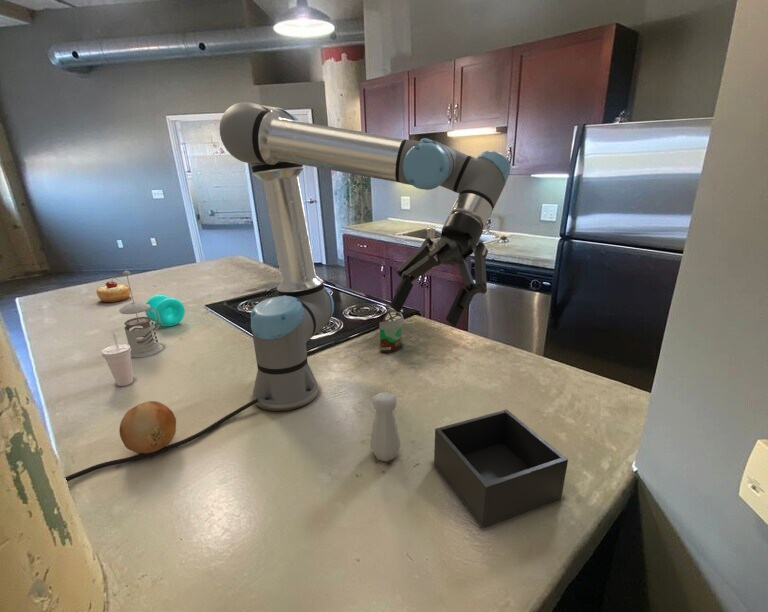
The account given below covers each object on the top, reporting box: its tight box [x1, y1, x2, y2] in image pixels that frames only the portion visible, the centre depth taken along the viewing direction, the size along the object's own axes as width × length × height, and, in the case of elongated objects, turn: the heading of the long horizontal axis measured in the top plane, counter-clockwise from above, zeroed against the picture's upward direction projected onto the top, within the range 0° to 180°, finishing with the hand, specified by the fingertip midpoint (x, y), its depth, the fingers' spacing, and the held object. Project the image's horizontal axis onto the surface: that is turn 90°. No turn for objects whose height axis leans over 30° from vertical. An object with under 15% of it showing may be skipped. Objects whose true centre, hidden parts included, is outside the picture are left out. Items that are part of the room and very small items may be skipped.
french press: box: [118, 270, 164, 358], centre depth 123 cm, size 10×12×25 cm
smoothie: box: [101, 331, 134, 387], centre depth 106 cm, size 6×6×14 cm
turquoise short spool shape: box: [144, 294, 186, 327], centre depth 146 cm, size 10×10×10 cm
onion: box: [119, 400, 177, 454], centre depth 82 cm, size 10×10×10 cm
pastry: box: [95, 277, 131, 303], centre depth 174 cm, size 12×12×9 cm
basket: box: [433, 409, 569, 529], centre depth 72 cm, size 16×16×8 cm
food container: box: [378, 308, 405, 353], centre depth 125 cm, size 12×6×10 cm, turn 168°
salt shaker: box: [369, 391, 401, 462], centre depth 78 cm, size 6×6×13 cm
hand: (420, 315), depth 78 cm, fingers open, 13 cm apart
